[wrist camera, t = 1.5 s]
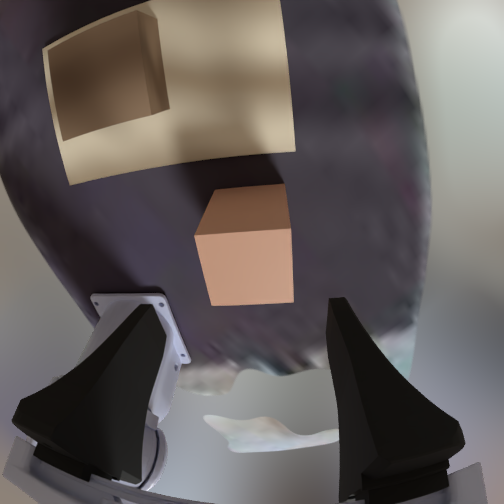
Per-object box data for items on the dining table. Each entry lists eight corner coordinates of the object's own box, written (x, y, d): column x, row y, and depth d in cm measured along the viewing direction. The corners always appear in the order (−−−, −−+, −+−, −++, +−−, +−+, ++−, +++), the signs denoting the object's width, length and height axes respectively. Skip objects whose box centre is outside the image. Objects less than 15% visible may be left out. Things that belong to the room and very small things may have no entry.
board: (294, 149, 17) (295, 151, 16) (74, 182, 19) (69, 185, 18) (276, -19, 11) (276, -22, 11) (47, 48, 13) (42, 48, 12)
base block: (169, 109, 15) (151, 115, 13) (88, 130, 16) (62, 141, 13) (157, 19, 12) (136, 10, 10) (75, 50, 13) (47, 50, 10)
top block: (288, 244, 21) (293, 302, 16) (225, 248, 21) (211, 305, 16) (284, 183, 18) (290, 228, 13) (214, 189, 19) (194, 235, 14)
